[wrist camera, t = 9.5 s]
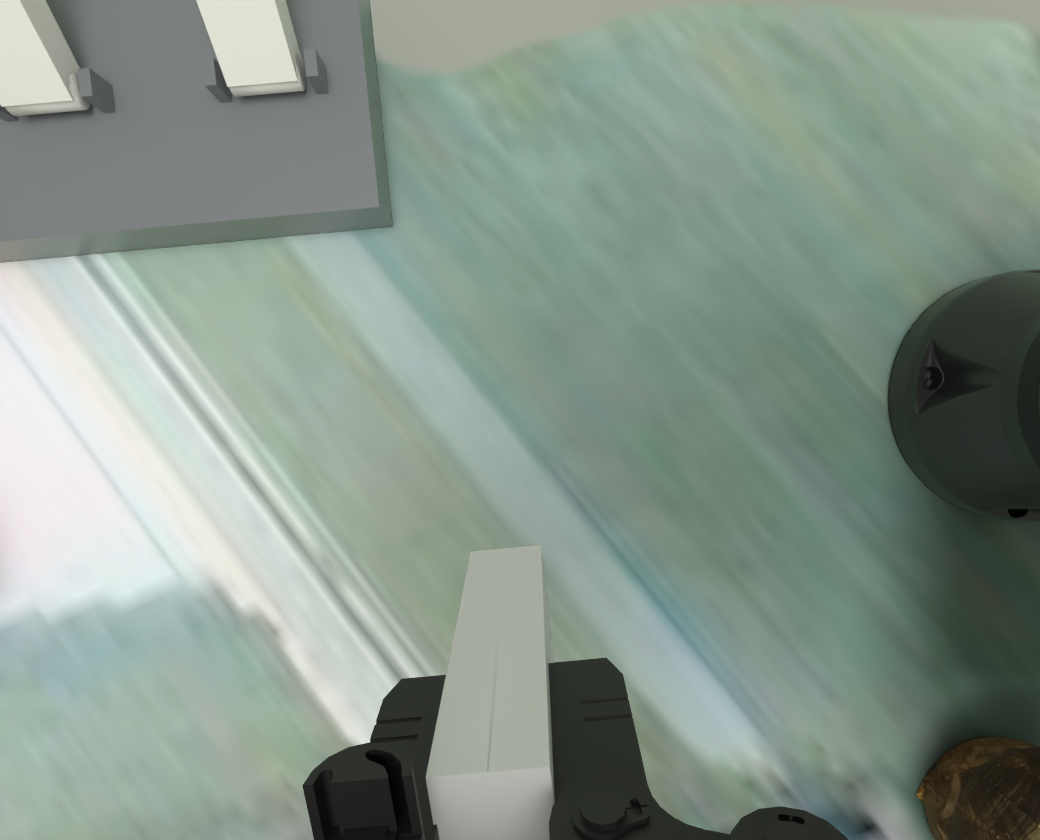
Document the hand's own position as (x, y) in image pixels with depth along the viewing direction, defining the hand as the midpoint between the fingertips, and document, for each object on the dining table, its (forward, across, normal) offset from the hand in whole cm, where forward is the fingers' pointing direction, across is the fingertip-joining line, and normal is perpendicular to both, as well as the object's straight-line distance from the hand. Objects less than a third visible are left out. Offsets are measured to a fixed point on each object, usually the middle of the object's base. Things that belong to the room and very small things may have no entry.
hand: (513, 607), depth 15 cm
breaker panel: (+31, -23, +17) cm, 42 cm away
